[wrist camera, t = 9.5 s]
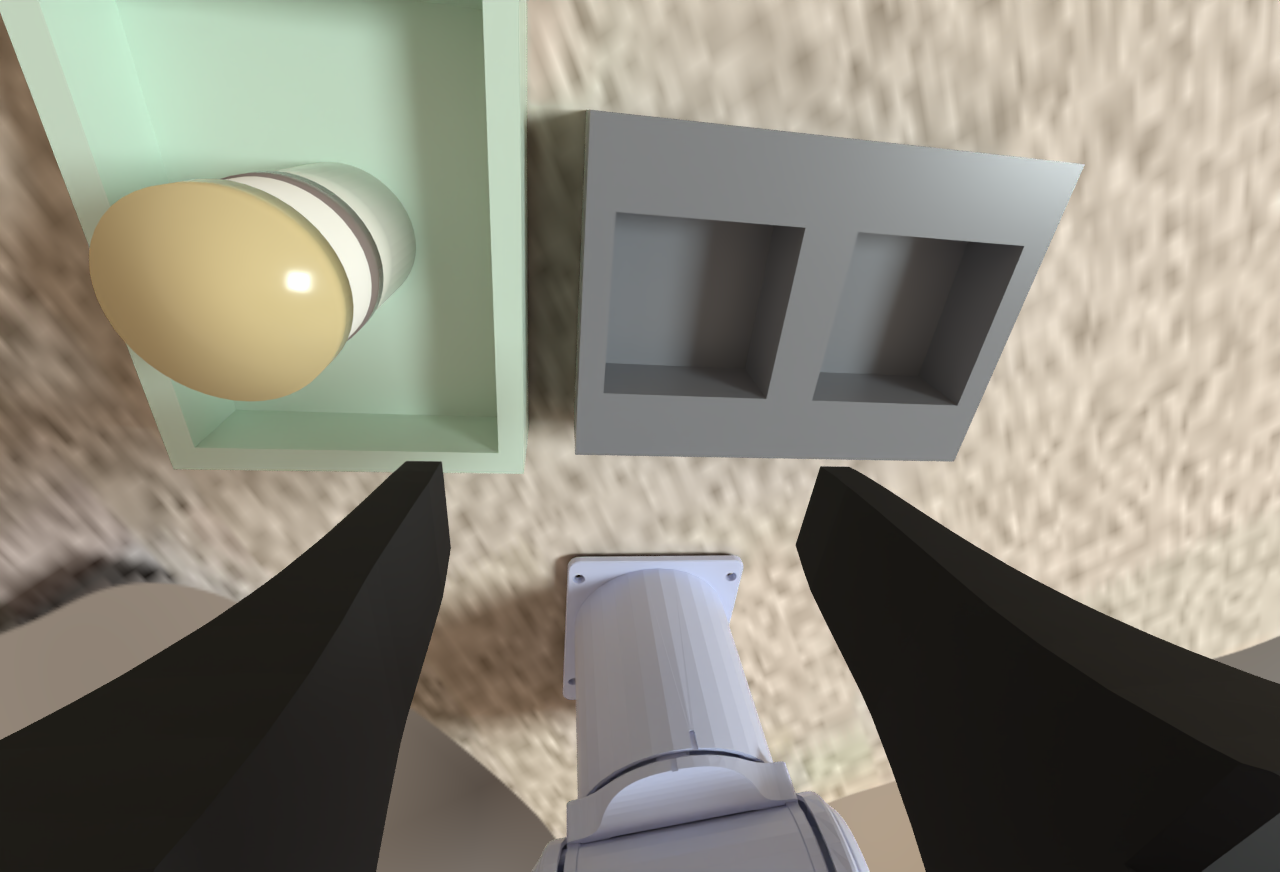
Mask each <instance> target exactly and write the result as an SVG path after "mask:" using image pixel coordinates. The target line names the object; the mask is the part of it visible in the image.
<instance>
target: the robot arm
mask: <svg viewBox="0 0 1280 872" xmlns="http://www.w3.org/2000/svg"><path fill="white" fill-rule="evenodd" d="M796 548H797V551H798V554H799V557H800V560H801V564H802V567H803V570H804V573H805V576H806V579H807V581H808V584H809V587H810V590H811V592H812V594H813V596H814V599H815V601H816V603H817V605H818V607H819V609H820V611H821V613H822V615H823V617H824V619H825V621H826V623H827V625H828V627H829V629H830V631H831V633H832V635H833V637H834V639H835V641H836V643H837V645H838V647H839V649H840V651H841V653H842V655H843V657H844V659H845V661H846V663H847V665H848V667H849V669H850V671H851V673H852V675H853V677H854V679H855V681H856V683H857V685H858V687H859V689H860V691H861V694H862V696H863V698H864V700H865V702H866V705H867V707H868V709H869V711H870V714H871V716H872V718H873V721H874V724H875V726H876V729H877V731H878V734H879V737H880V739H881V742H882V745H883V747H884V750H885V753H886V755H887V758H888V760H889V763H890V766H891V768H892V771H893V774H894V777H895V780H896V782H897V785H898V788H899V791H900V794H901V797H902V800H903V803H904V806H905V809H906V811H907V814H908V817H909V820H910V823H911V826H912V828H913V832H914V835H915V838H916V842H917V845H918V848H919V851H920V854H921V858H922V861H923V863H924V867H925V870H926V872H1280V684H1278V683H1275V682H1272V681H1269V680H1266V679H1263V678H1260V677H1258V676H1254V675H1252V674H1249V673H1247V672H1244V671H1241V670H1238V669H1236V668H1234V667H1231V666H1228V665H1226V664H1223V663H1220V662H1218V661H1215V660H1213V659H1210V658H1207V657H1205V656H1202V655H1199V654H1197V653H1194V652H1192V651H1189V650H1187V649H1184V648H1182V647H1179V646H1177V645H1174V644H1172V643H1170V642H1167V641H1165V640H1162V639H1160V638H1157V637H1155V636H1153V635H1150V634H1148V633H1146V632H1143V631H1141V630H1139V629H1137V628H1134V627H1132V626H1130V625H1128V624H1125V623H1123V622H1121V621H1119V620H1116V619H1114V618H1112V617H1110V616H1107V615H1105V614H1103V613H1101V612H1099V611H1096V610H1094V609H1092V608H1090V607H1088V606H1086V605H1084V604H1082V603H1080V602H1078V601H1075V600H1073V599H1071V598H1069V597H1068V596H1066V595H1064V594H1062V593H1060V592H1058V591H1056V590H1054V589H1052V588H1050V587H1048V586H1046V585H1044V584H1042V583H1040V582H1038V581H1036V580H1034V579H1033V578H1031V577H1029V576H1027V575H1025V574H1023V573H1021V572H1020V571H1018V570H1016V569H1014V568H1012V567H1011V566H1009V565H1007V564H1005V563H1004V562H1002V561H1000V560H999V559H997V558H995V557H993V556H992V555H990V554H988V553H987V552H985V551H983V550H982V549H980V548H978V547H976V546H975V545H973V544H971V543H970V542H968V541H967V540H965V539H963V538H962V537H960V536H959V535H957V534H955V533H954V532H952V531H951V530H949V529H947V528H946V527H944V526H943V525H941V524H940V523H938V522H936V521H935V520H933V519H932V518H930V517H929V516H927V515H926V514H924V513H923V512H921V511H920V510H918V509H916V508H915V507H913V506H912V505H910V504H909V503H907V502H906V501H904V500H903V499H901V498H900V497H898V496H897V495H895V494H894V493H892V492H890V491H889V490H887V489H886V488H884V487H883V486H881V485H880V484H878V483H876V482H875V481H873V480H872V479H870V478H868V477H867V476H865V475H863V474H862V473H860V472H858V471H856V470H854V469H852V468H850V467H820V470H819V473H818V476H817V479H816V482H815V485H814V489H813V492H812V495H811V498H810V501H809V504H808V508H807V511H806V514H805V517H804V520H803V523H802V527H801V530H800V533H799V536H798V539H797V542H796ZM450 549H451V546H450V536H449V526H448V517H447V507H446V497H445V487H444V477H443V467H442V461H406V462H405V463H403V464H402V465H401V466H400V467H399V468H398V469H397V470H396V471H394V472H393V473H392V474H391V475H390V476H389V477H388V478H387V479H386V480H385V481H384V482H383V483H382V484H381V485H380V486H379V487H378V488H376V489H375V490H374V491H373V492H372V493H371V494H370V495H369V496H368V497H367V498H366V499H365V500H364V501H363V502H362V503H361V504H359V505H358V506H357V507H356V508H355V509H354V510H353V511H352V512H351V513H350V514H348V515H347V516H346V517H345V518H344V519H343V520H342V521H341V522H340V523H338V524H337V525H336V526H335V527H334V528H333V529H332V530H331V531H330V532H328V533H327V534H326V535H325V536H324V537H323V538H321V539H320V540H319V541H318V542H317V543H315V544H314V545H313V546H312V547H311V548H309V549H308V550H307V551H306V552H304V553H303V554H302V555H301V556H300V557H298V558H297V559H296V560H295V561H293V562H292V563H291V564H290V565H288V566H287V567H286V568H285V569H284V570H282V571H281V572H280V573H278V574H277V575H276V576H274V577H273V578H272V579H270V580H269V581H268V582H266V583H265V584H264V585H262V586H261V587H259V588H258V589H257V590H255V591H254V592H253V593H251V594H250V595H248V596H247V597H245V598H244V599H242V600H241V601H240V602H238V603H237V604H235V605H234V606H232V607H231V608H229V609H228V610H226V611H225V612H224V613H222V614H221V615H219V616H218V617H216V618H215V619H213V620H212V621H210V622H209V623H207V624H206V625H204V626H202V627H201V628H199V629H197V630H196V631H194V632H193V633H191V634H190V635H188V636H186V637H184V638H183V639H181V640H179V641H178V642H176V643H174V644H173V645H171V646H169V647H168V648H167V649H165V650H163V651H162V652H160V653H158V654H157V655H155V656H153V657H152V658H150V659H148V660H147V661H145V662H143V663H142V664H140V665H138V666H137V667H135V668H133V669H132V670H130V671H128V672H127V673H125V674H123V675H121V676H120V677H118V678H116V679H114V680H112V681H111V682H109V683H107V684H105V685H103V686H102V687H100V688H98V689H96V690H94V691H93V692H91V693H89V694H87V695H85V696H84V697H82V698H80V699H78V700H76V701H74V702H73V703H71V704H69V705H67V706H65V707H63V708H61V709H59V710H57V711H56V712H54V713H52V714H50V715H48V716H46V717H44V718H42V719H41V720H38V721H37V722H34V723H33V724H31V725H29V726H27V727H25V728H23V729H21V730H19V731H17V732H15V733H13V734H11V735H10V736H7V737H5V738H3V739H1V740H0V872H376V869H377V863H378V858H379V852H380V847H381V841H382V836H383V830H384V825H385V820H386V814H387V808H388V803H389V798H390V793H391V788H392V783H393V777H394V773H395V768H396V763H397V758H398V753H399V748H400V743H401V739H402V735H403V731H404V727H405V723H406V720H407V716H408V712H409V709H410V706H411V702H412V699H413V696H414V692H415V689H416V686H417V682H418V679H419V676H420V672H421V669H422V666H423V662H424V659H425V656H426V652H427V649H428V646H429V642H430V639H431V636H432V632H433V629H434V626H435V622H436V619H437V615H438V612H439V609H440V605H441V601H442V598H443V592H444V586H445V581H446V575H447V569H448V562H449V556H450ZM742 571H743V563H742V561H741V559H740V558H739V557H738V556H734V555H720V556H610V557H575V558H573V559H571V560H570V561H569V563H568V574H567V599H566V623H565V647H564V672H563V696H564V697H565V698H566V699H569V700H576V732H577V780H578V799H576V800H572V801H569V802H568V803H567V838H566V837H565V838H560V839H555V840H552V841H550V842H548V844H547V845H546V847H545V848H544V850H543V852H542V856H541V857H540V859H539V860H538V862H537V863H536V865H535V867H534V868H533V870H532V872H870V871H869V869H868V866H867V864H866V862H865V859H864V857H863V855H862V852H861V850H860V848H859V846H858V844H857V842H856V840H855V838H854V836H853V834H852V832H851V830H850V829H849V827H848V825H847V824H846V822H845V821H844V819H843V818H842V817H841V815H840V814H839V813H838V812H837V811H836V810H835V809H833V808H832V807H831V806H830V805H828V804H827V803H826V802H825V801H824V800H823V799H822V798H821V797H820V796H819V795H818V794H816V793H815V792H812V791H806V792H801V793H795V790H794V787H793V784H792V781H791V778H790V775H789V772H788V769H787V766H786V763H785V762H783V761H779V762H773V761H772V757H771V754H770V751H769V748H768V745H767V742H766V739H765V736H764V733H763V729H762V726H761V723H760V720H759V717H758V714H757V711H756V708H755V705H754V701H753V698H752V695H751V692H750V689H749V686H748V683H747V680H746V677H745V673H744V670H743V667H742V664H741V661H740V658H739V655H738V652H737V649H736V645H735V642H734V639H733V636H732V633H731V630H730V627H729V623H730V619H731V615H732V611H733V607H734V603H735V599H736V595H737V591H738V587H739V583H740V579H741V575H742ZM729 573H732V574H731V575H727V574H729ZM576 575H582V577H575V576H576Z"/></svg>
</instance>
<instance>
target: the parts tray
mask: <svg viewBox="0 0 1280 872" xmlns="http://www.w3.org/2000/svg"><path fill="white" fill-rule="evenodd" d="M0 13H1V16H2V18H3V21H4V24H5V26H6V29H7V32H8V34H9V37H10V40H11V42H12V45H13V47H14V50H15V53H16V55H17V58H18V61H19V63H20V66H21V69H22V71H23V74H24V76H25V79H26V82H27V84H28V87H29V90H30V92H31V95H32V97H33V100H34V103H35V105H36V108H37V111H38V113H39V116H40V119H41V121H42V124H43V126H44V129H45V132H46V134H47V137H48V140H49V142H50V145H51V148H52V150H53V153H54V155H55V158H56V161H57V163H58V166H59V169H60V171H61V174H62V177H63V179H64V182H65V184H66V187H67V190H68V192H69V195H70V198H71V200H72V203H73V206H74V208H75V211H76V213H77V216H78V219H79V221H80V224H81V227H82V229H83V232H84V235H85V237H86V240H87V242H88V245H89V248H90V243H91V239H92V236H93V233H94V230H95V228H96V226H97V224H98V222H99V220H100V219H101V217H102V216H103V215H104V213H105V212H106V211H107V210H108V209H109V208H110V207H111V206H112V205H113V204H114V203H116V202H117V201H118V200H120V199H121V198H122V197H124V196H126V195H128V194H130V193H132V192H134V191H137V190H140V189H143V188H146V187H150V186H156V185H162V184H168V183H174V182H180V181H186V180H193V179H212V178H214V179H222V178H225V177H228V176H232V175H238V174H244V173H249V172H256V171H274V170H280V169H285V168H291V167H296V166H302V165H307V164H313V163H319V162H337V163H344V164H348V165H351V166H354V167H357V168H359V169H362V170H364V171H366V172H367V173H369V174H371V175H373V176H374V177H376V178H377V179H379V180H380V181H381V182H382V183H384V184H385V185H386V186H387V187H388V188H389V189H390V190H391V191H392V192H393V193H394V194H395V195H396V197H397V198H398V199H399V201H400V202H401V203H402V205H403V207H404V208H405V210H406V212H407V214H408V216H409V218H410V220H411V223H412V226H413V229H414V234H415V239H416V255H415V260H414V265H413V267H412V270H411V272H410V274H409V276H408V278H407V279H406V280H405V282H404V283H403V284H402V285H401V286H400V287H399V288H398V289H397V290H396V291H395V292H394V293H393V294H392V295H391V296H390V297H389V298H388V299H387V300H386V301H385V302H384V303H383V304H382V305H381V306H380V307H379V308H378V309H377V310H376V311H375V313H374V314H373V316H372V317H371V318H370V320H369V321H368V322H367V323H366V324H365V325H364V326H363V327H362V328H361V329H360V330H359V331H358V332H357V333H356V334H355V335H354V336H353V337H352V338H351V339H349V340H348V341H347V342H346V343H345V345H344V347H343V349H342V350H341V352H340V353H339V354H338V355H337V357H336V358H335V359H334V360H333V361H332V362H331V363H330V364H329V365H328V366H327V367H326V368H325V369H324V370H323V371H322V372H321V373H320V374H319V375H318V376H317V377H316V378H315V379H314V380H313V381H312V382H311V383H310V384H308V385H306V386H305V387H303V388H302V389H300V390H299V391H296V392H294V393H292V394H290V395H287V396H284V397H280V398H277V399H272V400H265V401H235V400H229V399H223V398H218V397H214V396H211V395H207V394H204V393H201V392H198V391H196V390H193V389H190V388H188V387H186V386H184V385H182V384H180V383H178V382H176V381H174V380H172V379H171V378H169V377H167V376H165V375H164V374H162V373H161V372H159V371H158V370H156V369H155V368H153V367H152V366H151V365H149V364H148V363H147V362H146V361H144V360H143V359H142V358H141V357H140V356H139V355H137V354H136V353H135V352H134V351H133V350H132V349H131V348H130V347H129V346H128V345H127V344H126V345H127V348H128V350H129V353H130V356H131V358H132V361H133V364H134V366H135V369H136V372H137V374H138V377H139V379H140V382H141V385H142V387H143V390H144V393H145V395H146V398H147V400H148V403H149V406H150V408H151V411H152V414H153V416H154V419H155V422H156V424H157V427H158V429H159V432H160V435H161V437H162V440H163V443H164V445H165V448H166V451H167V453H168V456H169V458H170V461H171V464H172V466H173V469H185V470H263V471H342V472H394V471H396V470H397V469H398V468H399V467H400V466H401V465H402V464H403V463H405V462H406V461H442V467H443V473H498V474H524V466H525V457H526V448H527V439H528V217H527V0H0Z"/></svg>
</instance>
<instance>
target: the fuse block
mask: <svg viewBox="0 0 1280 872" xmlns="http://www.w3.org/2000/svg"><path fill="white" fill-rule="evenodd" d="M1084 165H1085V164H1077V163H1068V162H1059V161H1050V160H1041V159H1032V158H1023V157H1014V156H1005V155H996V154H986V153H977V152H968V151H959V150H950V149H941V148H932V147H923V146H914V145H905V144H896V143H886V142H877V141H868V140H859V139H850V138H841V137H832V136H823V135H814V134H805V133H796V132H787V131H777V130H768V129H759V128H750V127H741V126H732V125H723V124H714V123H705V122H696V121H687V120H678V119H668V118H659V117H650V116H641V115H632V114H623V113H614V112H605V111H596V110H586V127H585V152H584V176H583V201H582V225H581V250H580V275H579V299H578V324H577V348H576V373H575V397H574V431H575V455H626V456H681V457H737V458H792V459H847V460H903V461H954V460H955V458H956V455H957V453H958V451H959V449H960V446H961V444H962V442H963V440H964V437H965V435H966V433H967V430H968V428H969V426H970V424H971V421H972V419H973V417H974V415H975V412H976V410H977V408H978V406H979V403H980V401H981V399H982V396H983V394H984V392H985V390H986V387H987V385H988V383H989V381H990V378H991V376H992V374H993V371H994V369H995V367H996V365H997V362H998V360H999V358H1000V356H1001V353H1002V351H1003V349H1004V347H1005V344H1006V342H1007V340H1008V337H1009V335H1010V333H1011V331H1012V328H1013V326H1014V324H1015V322H1016V319H1017V317H1018V315H1019V312H1020V310H1021V308H1022V306H1023V303H1024V301H1025V299H1026V297H1027V294H1028V292H1029V290H1030V288H1031V285H1032V283H1033V281H1034V278H1035V276H1036V274H1037V272H1038V269H1039V267H1040V265H1041V263H1042V260H1043V258H1044V256H1045V253H1046V251H1047V249H1048V247H1049V244H1050V242H1051V240H1052V238H1053V235H1054V233H1055V231H1056V229H1057V226H1058V224H1059V222H1060V219H1061V217H1062V215H1063V213H1064V210H1065V208H1066V206H1067V204H1068V201H1069V199H1070V197H1071V194H1072V192H1073V190H1074V188H1075V185H1076V183H1077V181H1078V179H1079V176H1080V174H1081V172H1082V170H1083V167H1084Z"/></svg>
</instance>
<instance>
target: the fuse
mask: <svg viewBox="0 0 1280 872" xmlns="http://www.w3.org/2000/svg"><path fill="white" fill-rule="evenodd" d="M415 255H416V239H415V234H414V229H413V226H412V223H411V220H410V218H409V216H408V214H407V212H406V210H405V208H404V207H403V205H402V203H401V202H400V201H399V199H398V198H397V197H396V195H395V194H394V193H393V192H392V191H391V190H390V189H389V188H388V187H387V186H386V185H385V184H384V183H382V182H381V181H380V180H379V179H377V178H376V177H374V176H373V175H371V174H369V173H367V172H366V171H364V170H362V169H359V168H357V167H354V166H351V165H348V164H344V163H337V162H319V163H313V164H307V165H302V166H296V167H291V168H285V169H280V170H274V171H256V172H249V173H244V174H238V175H232V176H228V177H225V178H222V179H214V178H212V179H193V180H186V181H180V182H174V183H168V184H162V185H156V186H150V187H146V188H143V189H140V190H137V191H134V192H132V193H130V194H128V195H126V196H124V197H122V198H121V199H120V200H118V201H117V202H116V203H114V204H113V205H112V206H111V207H110V208H109V209H108V210H107V211H106V212H105V213H104V215H103V216H102V217H101V219H100V220H99V222H98V224H97V226H96V228H95V230H94V233H93V236H92V239H91V243H90V250H89V271H90V276H91V281H92V285H93V288H94V291H95V294H96V297H97V300H98V302H99V304H100V306H101V308H102V310H103V312H104V314H105V316H106V317H107V319H108V320H109V322H110V323H111V325H112V327H113V328H114V329H115V331H116V332H117V333H118V334H119V336H120V337H121V338H122V339H123V341H124V342H125V343H126V344H127V345H128V346H129V347H130V348H131V349H132V350H133V351H134V352H135V353H136V354H137V355H139V356H140V357H141V358H142V359H143V360H144V361H146V362H147V363H148V364H149V365H151V366H152V367H153V368H155V369H156V370H158V371H159V372H161V373H162V374H164V375H165V376H167V377H169V378H171V379H172V380H174V381H176V382H178V383H180V384H182V385H184V386H186V387H188V388H190V389H193V390H196V391H198V392H201V393H204V394H207V395H211V396H214V397H218V398H223V399H229V400H235V401H265V400H272V399H277V398H280V397H284V396H287V395H290V394H292V393H294V392H296V391H299V390H300V389H302V388H303V387H305V386H306V385H308V384H310V383H311V382H312V381H313V380H314V379H315V378H316V377H317V376H318V375H319V374H320V373H321V372H322V371H323V370H324V369H325V368H326V367H327V366H328V365H329V364H330V363H331V362H332V361H333V360H334V359H335V358H336V357H337V355H338V354H339V353H340V352H341V350H342V349H343V347H344V345H345V343H346V342H347V341H348V340H349V339H351V338H352V337H353V336H354V335H355V334H356V333H357V332H358V331H359V330H360V329H361V328H362V327H363V326H364V325H365V324H366V323H367V322H368V321H369V320H370V318H371V317H372V316H373V314H374V313H375V311H376V310H377V309H378V308H379V307H380V306H381V305H382V304H383V303H384V302H385V301H386V300H387V299H388V298H389V297H390V296H391V295H392V294H393V293H394V292H395V291H396V290H397V289H398V288H399V287H400V286H401V285H402V284H403V283H404V282H405V280H406V279H407V278H408V276H409V274H410V272H411V270H412V267H413V265H414V260H415Z"/></svg>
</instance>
